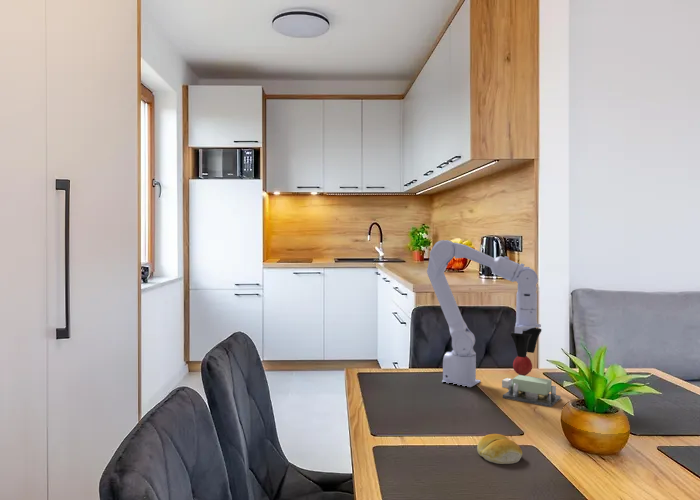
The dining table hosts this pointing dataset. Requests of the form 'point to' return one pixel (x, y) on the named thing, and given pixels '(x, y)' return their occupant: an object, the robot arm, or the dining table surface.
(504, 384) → the stand
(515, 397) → the chassis
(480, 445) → the bread roll
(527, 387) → the pale green block
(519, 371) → the onion
